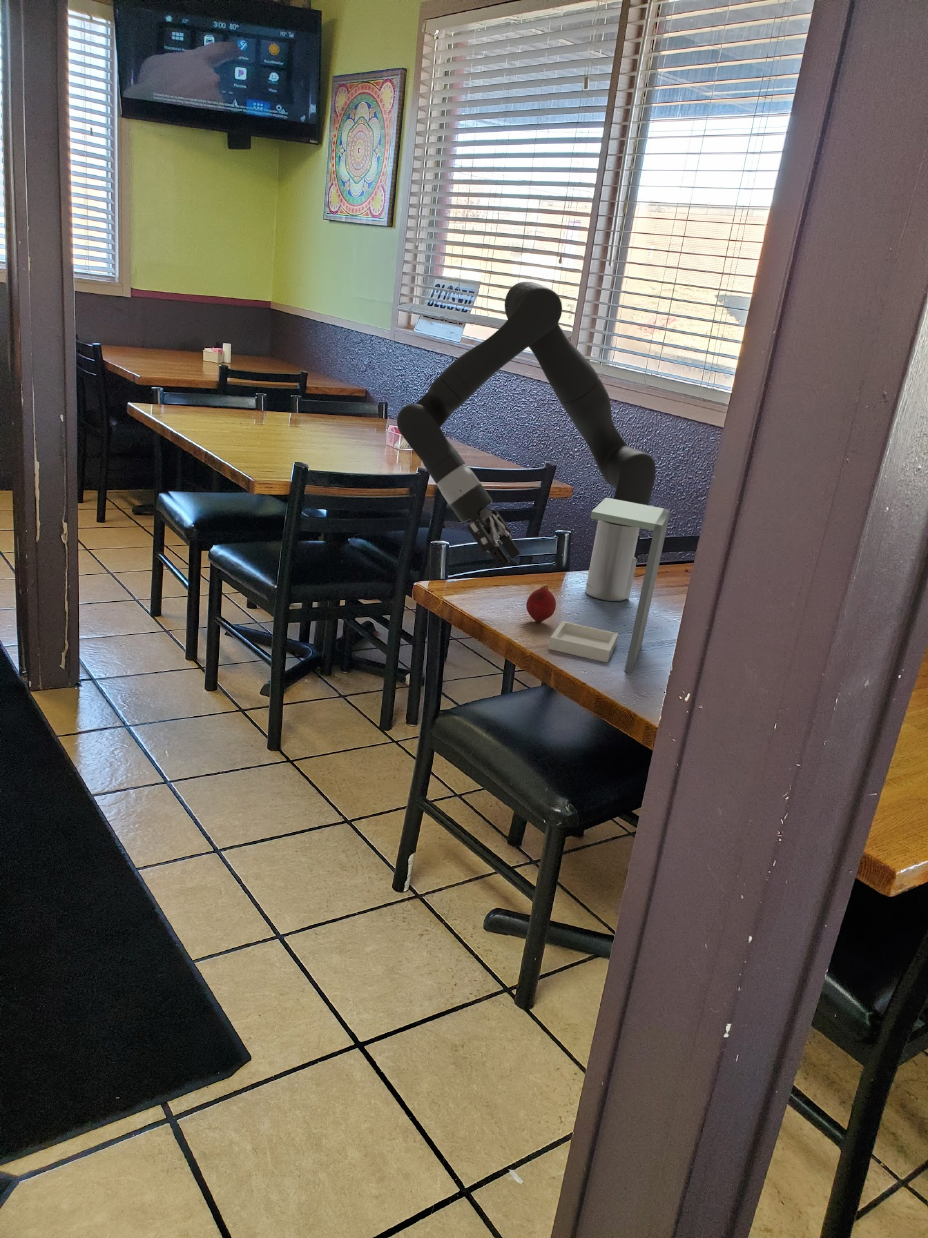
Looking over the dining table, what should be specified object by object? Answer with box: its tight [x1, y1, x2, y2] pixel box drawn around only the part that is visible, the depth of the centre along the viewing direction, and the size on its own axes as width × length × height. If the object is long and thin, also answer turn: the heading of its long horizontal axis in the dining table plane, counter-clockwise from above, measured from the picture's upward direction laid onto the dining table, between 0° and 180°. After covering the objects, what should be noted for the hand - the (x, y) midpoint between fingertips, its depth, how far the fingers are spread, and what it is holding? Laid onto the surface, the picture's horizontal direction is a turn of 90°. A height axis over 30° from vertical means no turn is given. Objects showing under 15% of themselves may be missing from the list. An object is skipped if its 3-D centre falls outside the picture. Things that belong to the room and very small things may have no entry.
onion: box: [526, 583, 557, 624], centre depth 184 cm, size 6×6×8 cm
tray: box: [548, 620, 619, 663], centre depth 175 cm, size 11×11×2 cm
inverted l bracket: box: [590, 497, 671, 674], centre depth 170 cm, size 12×16×27 cm
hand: (511, 560), depth 184 cm, fingers open, 8 cm apart
